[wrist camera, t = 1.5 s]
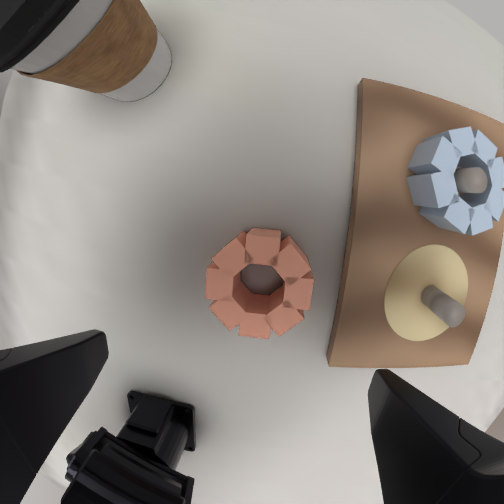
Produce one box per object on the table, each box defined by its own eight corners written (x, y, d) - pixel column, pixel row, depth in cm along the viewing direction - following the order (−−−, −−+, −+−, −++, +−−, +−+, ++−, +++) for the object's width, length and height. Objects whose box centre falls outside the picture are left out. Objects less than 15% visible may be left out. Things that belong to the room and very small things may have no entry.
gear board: (460, 356, 20) (490, 388, 15) (326, 356, 21) (336, 400, 16) (496, 127, 16) (537, 118, 11) (357, 85, 17) (380, 53, 12)
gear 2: (484, 214, 16) (513, 219, 13) (420, 236, 17) (445, 245, 14) (465, 131, 16) (492, 123, 12) (396, 145, 16) (419, 135, 13)
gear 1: (301, 319, 21) (304, 342, 17) (216, 309, 21) (204, 330, 18) (312, 234, 20) (319, 242, 16) (221, 224, 20) (208, 231, 17)
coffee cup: (199, 24, 17) (115, -110, 3) (173, 120, 19) (13, 33, 4) (111, 30, 18) (0, -48, 3) (84, 117, 20) (-66, 80, 5)
